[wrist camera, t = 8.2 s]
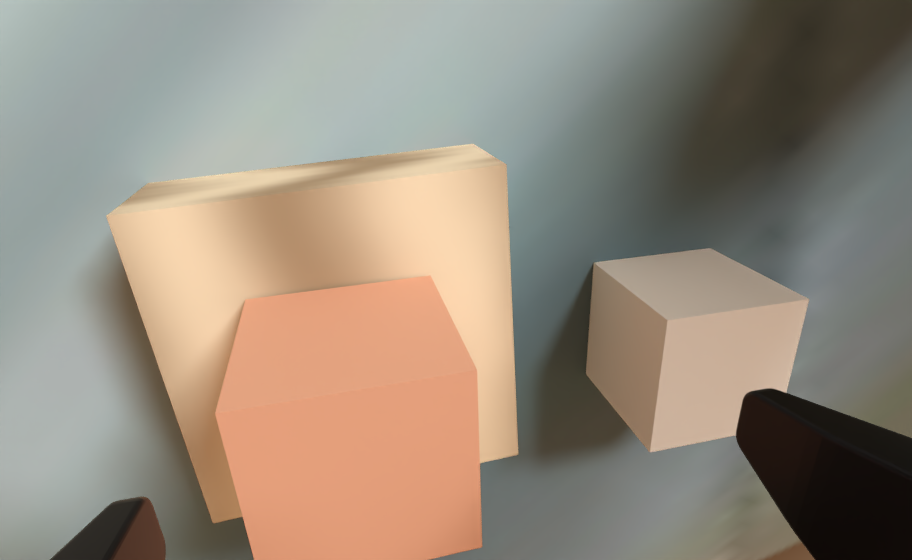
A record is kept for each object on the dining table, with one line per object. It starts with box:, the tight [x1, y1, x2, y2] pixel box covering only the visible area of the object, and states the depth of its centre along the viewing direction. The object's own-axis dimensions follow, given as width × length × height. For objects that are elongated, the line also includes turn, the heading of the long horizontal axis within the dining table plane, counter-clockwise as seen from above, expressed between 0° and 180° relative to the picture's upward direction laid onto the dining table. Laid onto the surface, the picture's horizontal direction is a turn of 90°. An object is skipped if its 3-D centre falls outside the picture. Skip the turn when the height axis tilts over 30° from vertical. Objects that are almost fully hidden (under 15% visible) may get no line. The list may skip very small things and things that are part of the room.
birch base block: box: [106, 144, 518, 523], centre depth 18 cm, size 10×10×4 cm
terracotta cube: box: [215, 275, 482, 560], centre depth 14 cm, size 5×5×5 cm
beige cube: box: [586, 248, 809, 452], centre depth 20 cm, size 5×5×5 cm
